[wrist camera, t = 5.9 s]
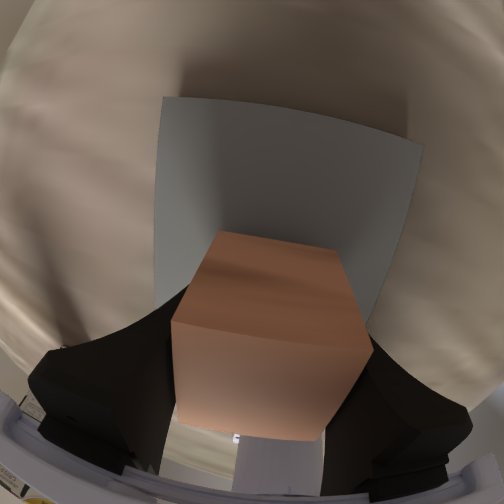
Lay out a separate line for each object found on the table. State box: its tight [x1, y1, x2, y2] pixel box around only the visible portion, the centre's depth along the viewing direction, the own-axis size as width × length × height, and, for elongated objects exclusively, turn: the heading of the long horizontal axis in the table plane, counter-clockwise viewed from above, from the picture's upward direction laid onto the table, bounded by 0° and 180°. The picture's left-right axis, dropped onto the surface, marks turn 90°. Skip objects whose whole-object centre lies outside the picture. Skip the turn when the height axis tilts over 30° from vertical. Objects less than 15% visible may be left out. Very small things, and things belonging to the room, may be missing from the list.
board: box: [154, 97, 424, 326], centre depth 15 cm, size 16×12×2 cm
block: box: [171, 230, 374, 441], centre depth 10 cm, size 5×5×6 cm
